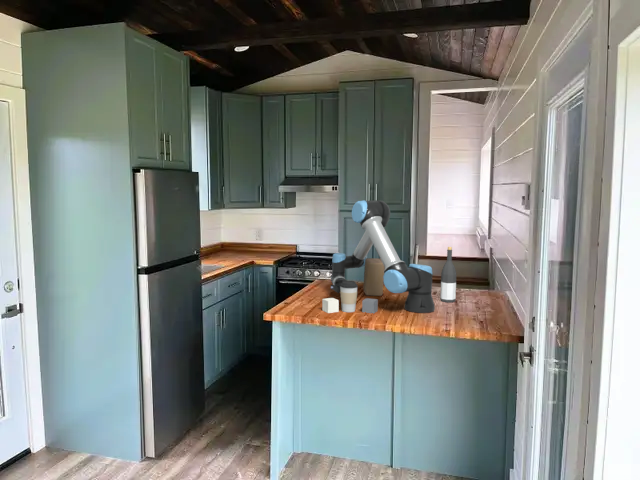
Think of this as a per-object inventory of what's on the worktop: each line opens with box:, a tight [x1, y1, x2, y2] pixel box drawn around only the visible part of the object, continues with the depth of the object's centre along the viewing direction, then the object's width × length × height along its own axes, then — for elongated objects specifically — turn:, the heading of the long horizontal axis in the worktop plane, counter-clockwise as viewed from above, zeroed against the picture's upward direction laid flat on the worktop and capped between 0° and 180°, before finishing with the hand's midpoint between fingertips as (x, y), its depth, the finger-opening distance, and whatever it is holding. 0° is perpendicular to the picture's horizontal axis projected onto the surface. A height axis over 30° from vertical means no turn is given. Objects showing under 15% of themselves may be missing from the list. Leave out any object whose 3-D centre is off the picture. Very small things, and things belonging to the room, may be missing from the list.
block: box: [362, 257, 385, 297], centre depth 277 cm, size 10×10×20 cm
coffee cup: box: [339, 280, 359, 313], centre depth 241 cm, size 9×9×15 cm
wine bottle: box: [439, 246, 457, 304], centre depth 263 cm, size 8×8×30 cm
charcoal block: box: [361, 297, 379, 314], centre depth 240 cm, size 6×6×6 cm
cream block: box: [321, 297, 340, 314], centre depth 241 cm, size 6×6×6 cm
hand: (346, 294), depth 246 cm, fingers closed
